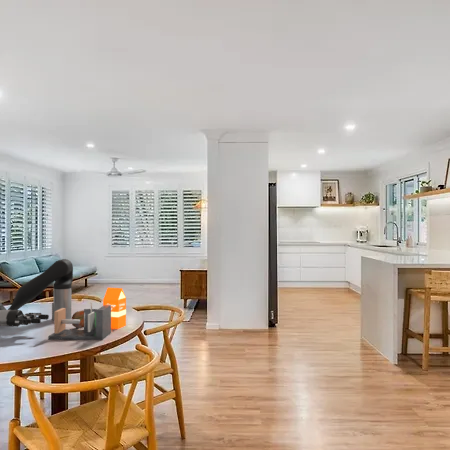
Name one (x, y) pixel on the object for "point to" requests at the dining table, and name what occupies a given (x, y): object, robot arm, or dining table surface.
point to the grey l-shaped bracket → (98, 333)
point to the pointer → (91, 320)
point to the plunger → (62, 320)
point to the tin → (79, 316)
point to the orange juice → (116, 306)
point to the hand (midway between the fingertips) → (44, 319)
